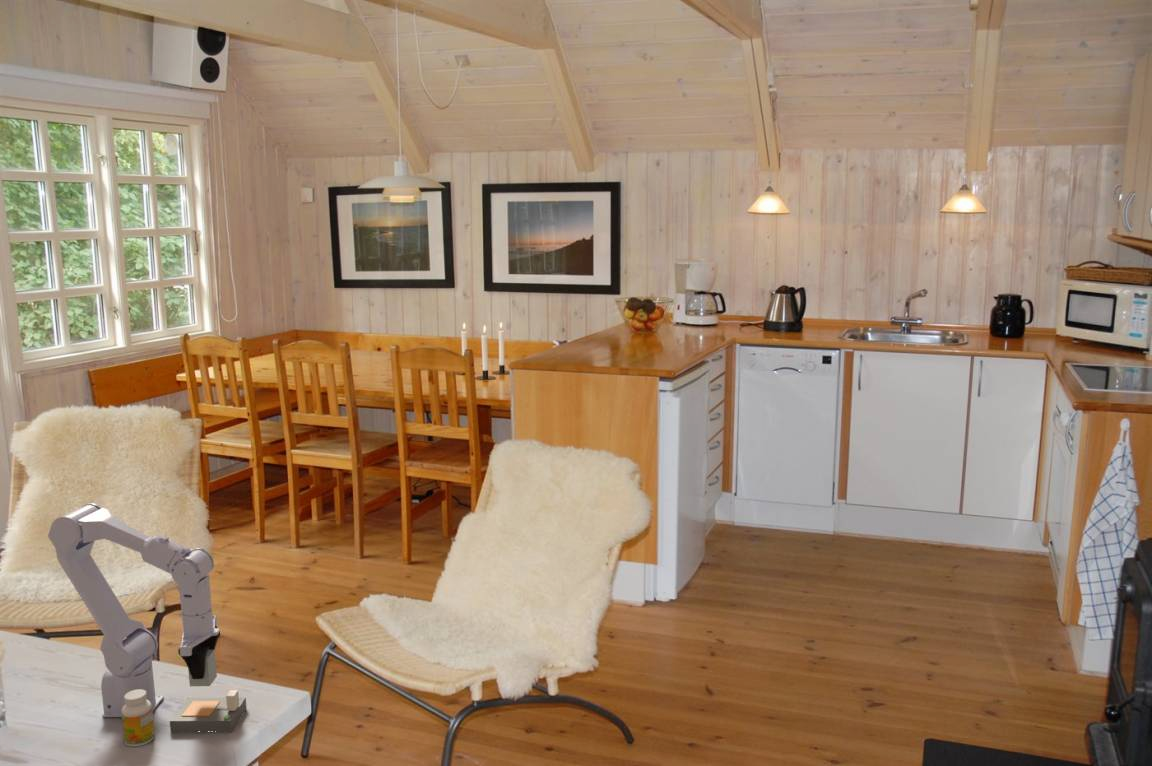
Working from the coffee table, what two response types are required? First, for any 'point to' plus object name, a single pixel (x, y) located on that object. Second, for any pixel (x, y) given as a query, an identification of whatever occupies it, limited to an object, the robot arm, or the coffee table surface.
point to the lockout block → (206, 671)
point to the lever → (232, 700)
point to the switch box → (206, 715)
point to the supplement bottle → (137, 718)
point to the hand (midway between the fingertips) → (202, 672)
